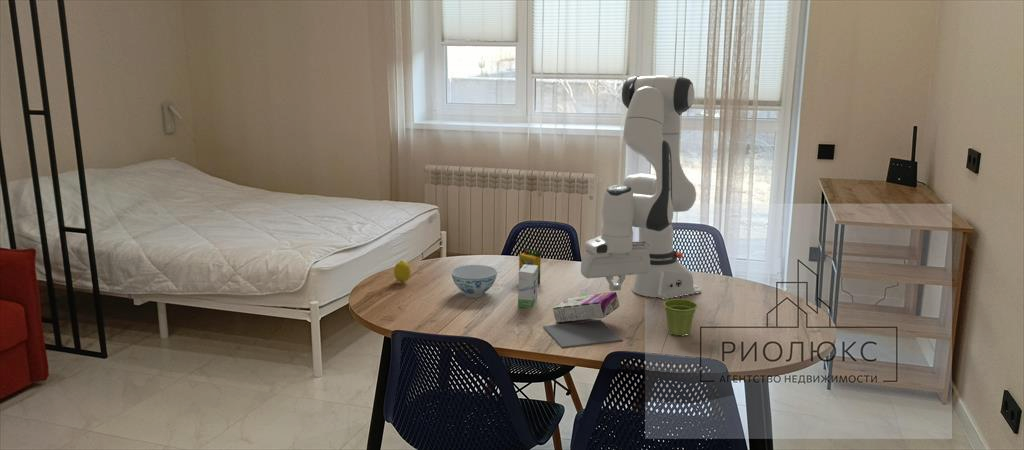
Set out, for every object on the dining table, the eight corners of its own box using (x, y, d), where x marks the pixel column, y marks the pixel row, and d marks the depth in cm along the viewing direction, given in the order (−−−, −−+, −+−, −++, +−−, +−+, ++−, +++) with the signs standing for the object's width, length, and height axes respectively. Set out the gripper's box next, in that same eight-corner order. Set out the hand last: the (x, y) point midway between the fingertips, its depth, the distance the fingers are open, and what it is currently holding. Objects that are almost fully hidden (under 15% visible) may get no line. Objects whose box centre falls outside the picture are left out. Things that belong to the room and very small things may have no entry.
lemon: (414, 282, 268) (413, 259, 266) (403, 286, 263) (402, 263, 261) (401, 279, 270) (400, 257, 269) (391, 283, 266) (390, 261, 264)
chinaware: (470, 304, 246) (470, 281, 244) (442, 293, 256) (442, 270, 255) (506, 294, 255) (506, 272, 253) (477, 283, 266) (477, 262, 264)
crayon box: (518, 281, 268) (518, 249, 266) (524, 279, 271) (524, 247, 268) (535, 286, 264) (535, 253, 261) (540, 283, 266) (541, 251, 263)
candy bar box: (620, 307, 230) (572, 312, 239) (616, 291, 230) (569, 296, 239) (604, 319, 221) (555, 323, 230) (600, 302, 220) (551, 307, 230)
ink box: (522, 298, 251) (522, 263, 248) (538, 299, 250) (538, 264, 247) (517, 307, 243) (517, 271, 240) (533, 308, 242) (533, 272, 239)
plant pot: (674, 341, 217) (676, 311, 214) (655, 329, 225) (657, 301, 223) (702, 336, 220) (704, 307, 218) (682, 325, 229) (684, 297, 227)
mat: (600, 321, 232) (600, 319, 231) (622, 340, 217) (622, 339, 217) (543, 327, 227) (543, 326, 226) (562, 347, 212) (562, 346, 212)
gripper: (645, 238, 224) (643, 283, 227) (579, 242, 218) (578, 289, 221) (655, 243, 218) (653, 290, 221) (587, 248, 212) (586, 296, 215)
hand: (615, 290), depth 221 cm, fingers closed
